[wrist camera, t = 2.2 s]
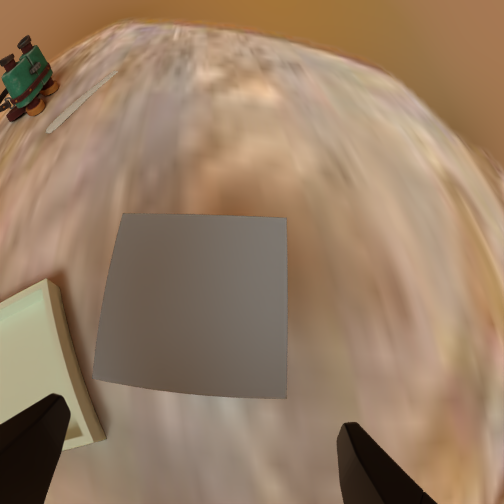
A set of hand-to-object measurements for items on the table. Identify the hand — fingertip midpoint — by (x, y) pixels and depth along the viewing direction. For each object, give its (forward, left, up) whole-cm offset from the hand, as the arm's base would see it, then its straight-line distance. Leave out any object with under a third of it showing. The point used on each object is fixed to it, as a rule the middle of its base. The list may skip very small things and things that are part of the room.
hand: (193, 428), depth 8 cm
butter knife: (+37, -20, -11) cm, 44 cm away
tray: (+12, +10, -11) cm, 19 cm away
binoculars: (+45, -8, -11) cm, 47 cm away
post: (+2, -3, -11) cm, 11 cm away
